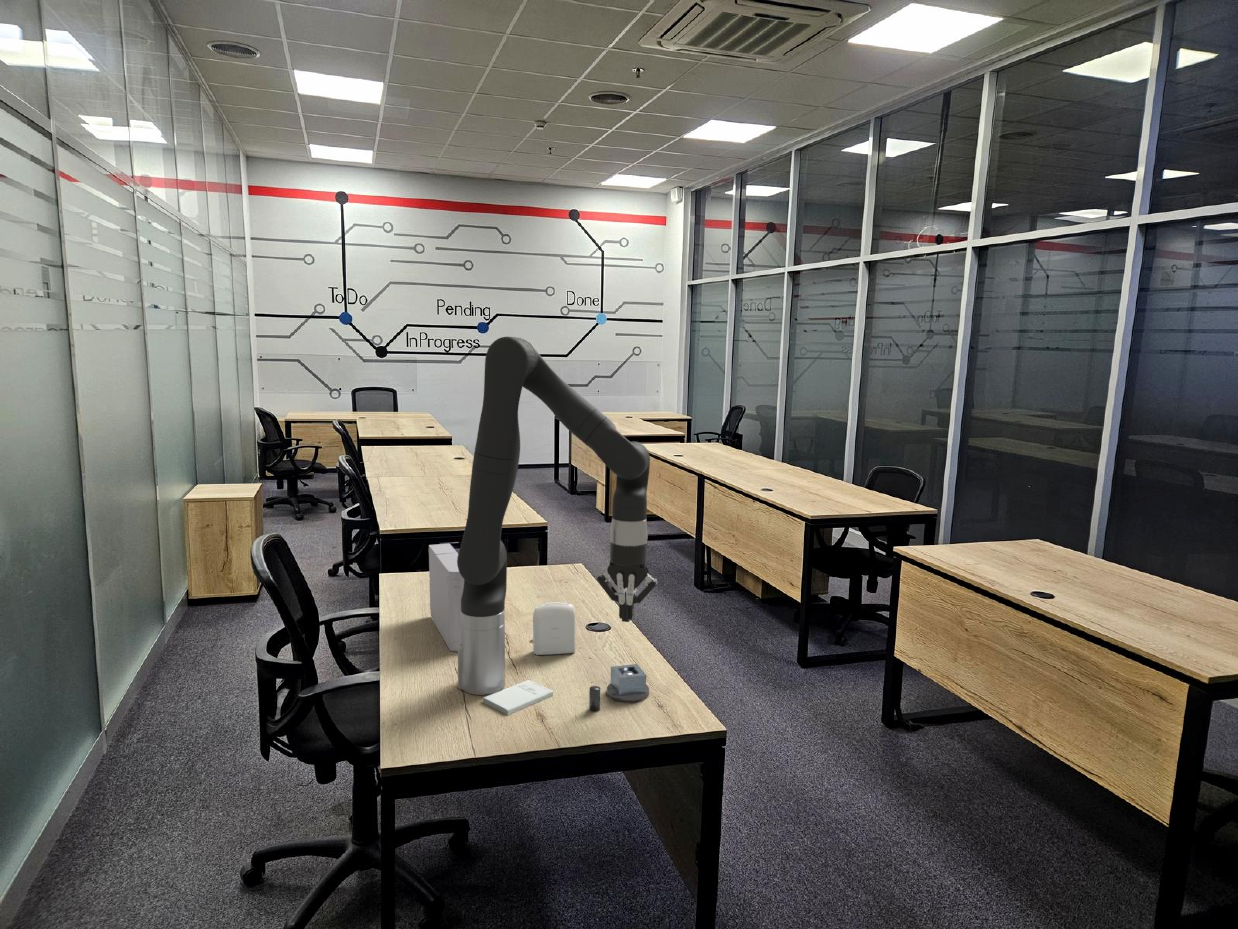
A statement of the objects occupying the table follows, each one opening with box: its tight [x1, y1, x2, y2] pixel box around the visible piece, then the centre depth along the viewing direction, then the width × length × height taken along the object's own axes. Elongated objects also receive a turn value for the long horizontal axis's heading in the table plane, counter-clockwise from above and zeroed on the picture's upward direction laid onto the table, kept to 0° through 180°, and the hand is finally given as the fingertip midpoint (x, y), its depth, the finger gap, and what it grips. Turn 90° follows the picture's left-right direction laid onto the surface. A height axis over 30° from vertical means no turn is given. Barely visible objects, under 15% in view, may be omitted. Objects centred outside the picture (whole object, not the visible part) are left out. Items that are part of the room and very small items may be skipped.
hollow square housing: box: [610, 663, 647, 696], centre depth 163 cm, size 6×6×4 cm
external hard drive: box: [482, 679, 554, 716], centre depth 160 cm, size 2×8×12 cm
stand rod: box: [588, 685, 601, 713], centre depth 155 cm, size 2×2×4 cm
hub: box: [606, 671, 650, 703], centre depth 163 cm, size 9×9×4 cm
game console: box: [428, 542, 464, 652], centre depth 195 cm, size 6×27×20 cm, turn 24°
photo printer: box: [532, 601, 576, 656], centre depth 184 cm, size 10×4×12 cm, turn 100°
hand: (626, 620), depth 159 cm, fingers closed
